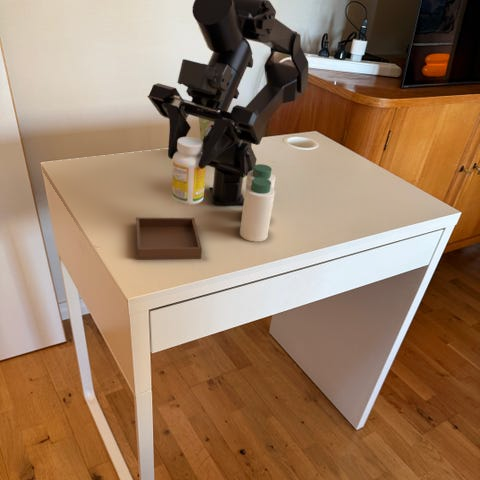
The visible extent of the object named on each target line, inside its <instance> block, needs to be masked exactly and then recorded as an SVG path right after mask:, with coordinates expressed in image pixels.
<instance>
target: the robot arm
mask: <svg viewBox="0 0 480 480" xmlns="http://www.w3.org/2000/svg"><path fill="white" fill-rule="evenodd" d="M276 15H277V10H276V8H275V7H274V6H273V3H272V2H271V1H270V0H194V2H193V5H192V16H193V18H194V21H195V24H196V25H197V27H198V30H199V32H200V34H201V36H202V39H203V41H204V43H205V45H206V47H207V48H208V49H209V50H210V51H211V52H212V53H211V56H210V58H209V60H208V63H207V64H206V63H200V62H197V61H193V60H190V59H186V58H183V59H182V61H181V64H180V69H179V73H178V78H177V84H178V85H183V86H185V87H186V88H187V89H186V90H185V92H186V94H187V96H188V97H191V101H190V100H187V99H184V98H182V96H181V94H180V92H179V91H178V89H177V88H176V87H174V86H170V85H167V84H162V83H155V84H153V85H152V86H151V88H150V90H149V92H148V95H147V98H148V100H149V101H150V103H151V104H152V106H154V108H155V109H156V110H157V112H158V113H159V115H160V116H162V117H163V118H165V119H168V122H169V134H168V146H167V147H168V149H167V157H168V158H169V159H170V160H173V155H174V154H175V153H176V152H177V151H178V149H177V141H178V139H179V138H181V137H188V136H187V135H188V133H189V132H190V130H191V128H192V127H191V125H190V124H189V122H188V121H187V119H188V118H189V116H192V117H196V118H198V119H199V118H202V119H206V120H209V121H213V122H214V124H212V125H211V129H210V130H209V131H208V133H207V134H206V135H205V137H204V139H203V154H202V156H201V158H200V161H199V164H198V166H199V168H200V169H203V168H204V167H205V166H206V167H208V166H209V167H211V168H213V171H214V172H213V182H212V183H213V184H212V187H208V193H209V196H210V200H211V203H212V204H213V205H219V206H221V205H222V206H223V205H224V206H225V205H227V206H230V205H231V206H243V204H244V195H243V194H242V191H243V183H244V178H245V177H247V174H248V172H249V171H252V170H253V168H254V166H255V165H257V164H256V163H257V157H256V154H255V152H254V150H253V147H252V144H253V145H255V146H259V145H260V144H261V141H262V140H263V137H264V135H265V128H264V126H266V124H267V123H268V121H270V119H271V118H272V117H273V115H274V114H275V113H276V112H277V111H278V110H279V109H280V107H281V106H282V105H284V104H290V103H294V102H296V101H297V100H298V99H299V98H300V97H301V96H302V95H303V94H304V93H305V92H306V90H307V87H308V83H309V60H308V58H307V57H306V54H305V52H304V50H303V48H302V38H301V37H302V36H301V34H300V33H298V31H295V30H292V29H291V28H290V27H288V26H287V25H286V24H284V23H283V22H281V21H280V20H278V19H277V18H276ZM249 41H252V42H256V43H260V44H263V45H264V46H267V47H268V48H270V54H269V56H268V58H267V59H266V61H265V63H264V66H263V68H264V78H265V79H264V80H265V81H264V82H265V83H264V86H263V87H262V88H261V89H260V90H259V91H258V92H257V93H256V94H255V96H254V97H253V98H252V99H251V100H250V101H249V102H248V103H247V104H246V105H245V106H244V105H243V106H242V105H239V104H236V105H234V106H233V107H232V109H231V111H229V109H230V107H231V104H232V102H233V100H234V99H235V100H238V97H239V95H240V91H239V86H240V84H241V81H242V80H243V77H244V75H245V72H246V70H247V68H250V69H252V68H253V67H254V59H253V58H254V57H253V50H252V47H251V44H250V42H249ZM276 53H279V54H284V55H288V56H290V59H291V61H292V64H289V63H285V62H280V61H277V60H275V54H276Z"/></svg>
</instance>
